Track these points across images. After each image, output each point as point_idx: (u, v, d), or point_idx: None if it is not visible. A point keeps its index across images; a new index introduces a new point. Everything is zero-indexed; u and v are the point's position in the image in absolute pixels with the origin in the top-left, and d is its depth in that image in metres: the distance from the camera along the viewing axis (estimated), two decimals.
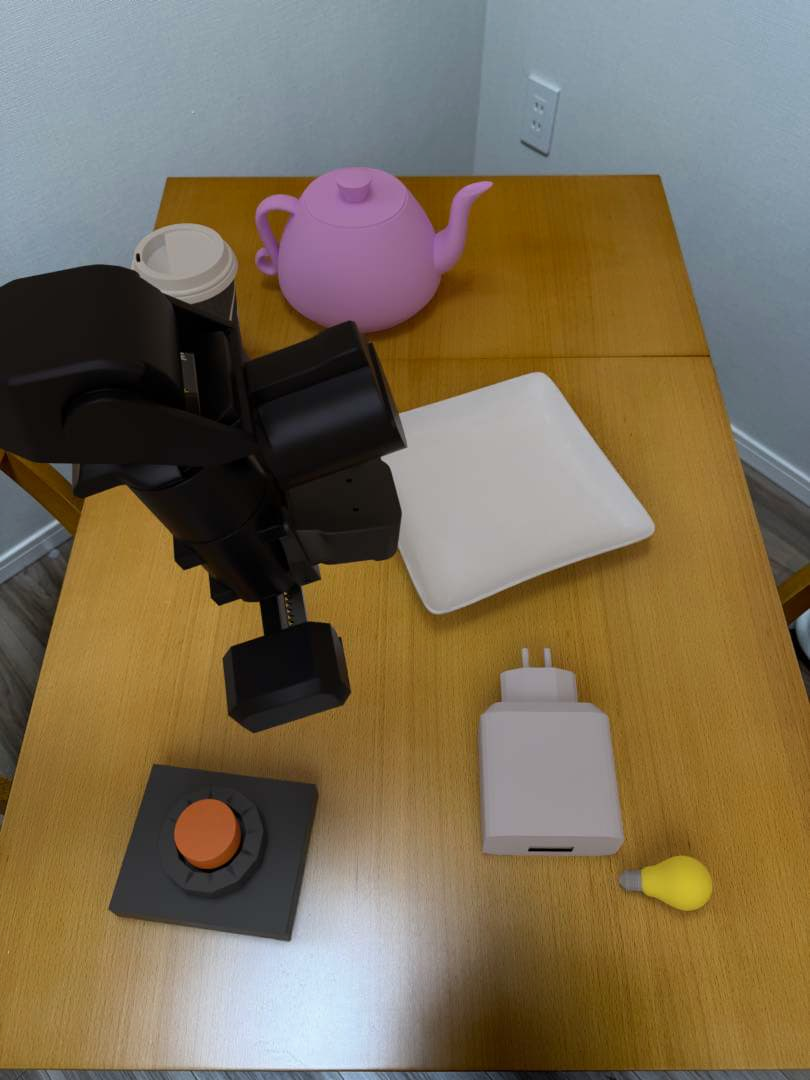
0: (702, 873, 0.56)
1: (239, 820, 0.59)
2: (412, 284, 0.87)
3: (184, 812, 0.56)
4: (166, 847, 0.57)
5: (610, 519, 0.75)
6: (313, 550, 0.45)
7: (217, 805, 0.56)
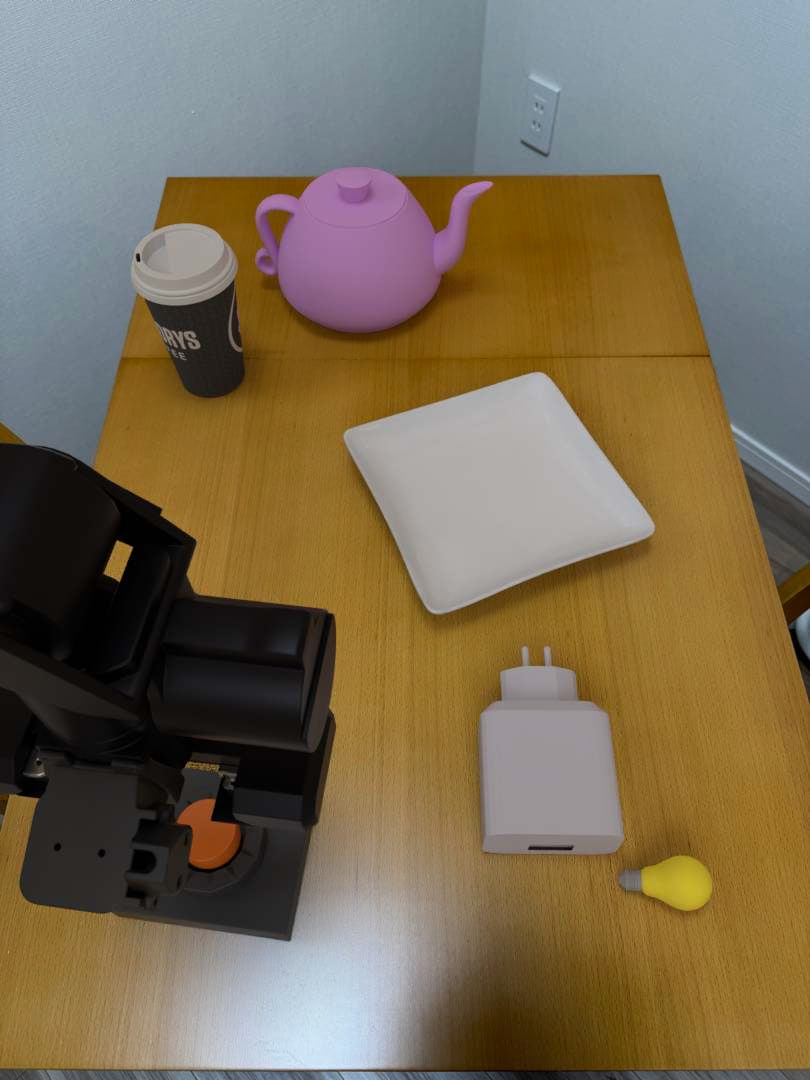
0: (702, 873, 0.56)
1: None
2: (413, 284, 0.87)
3: (184, 812, 0.56)
4: None
5: (610, 519, 0.75)
6: None
7: None
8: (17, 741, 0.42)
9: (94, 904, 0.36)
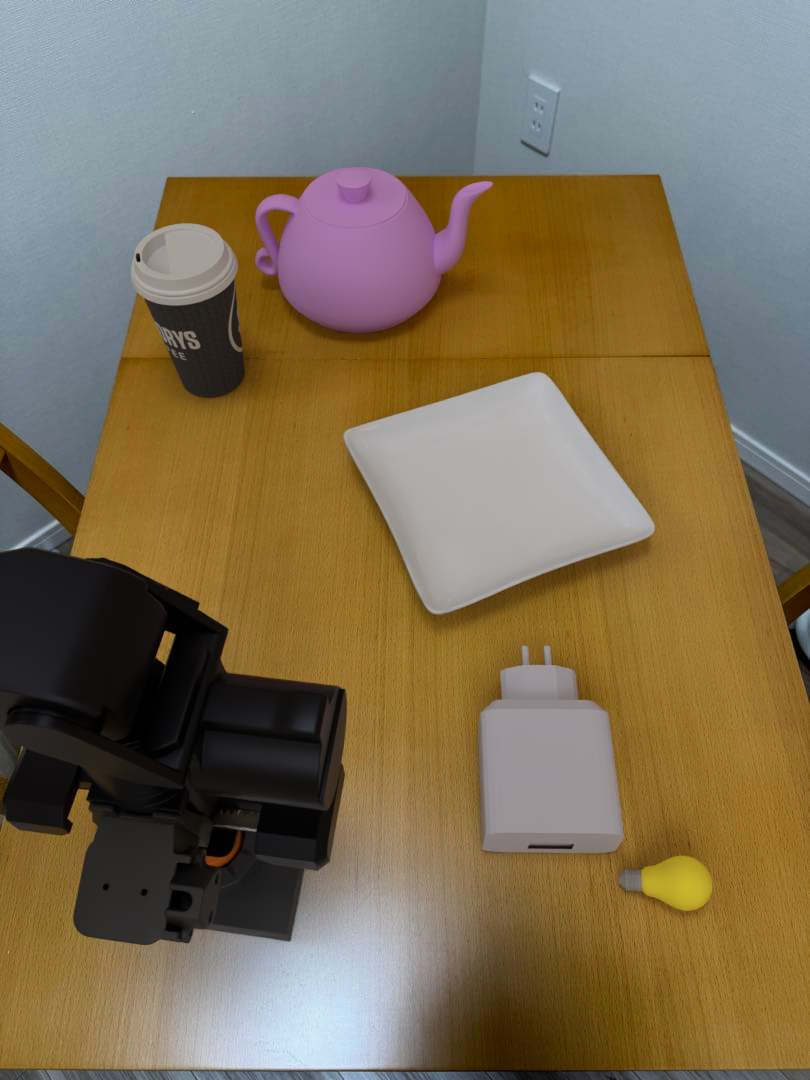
0: (702, 873, 0.56)
1: None
2: (413, 284, 0.87)
3: None
4: None
5: (610, 519, 0.75)
6: (96, 830, 0.45)
7: None
8: (66, 790, 0.48)
9: (138, 937, 0.42)
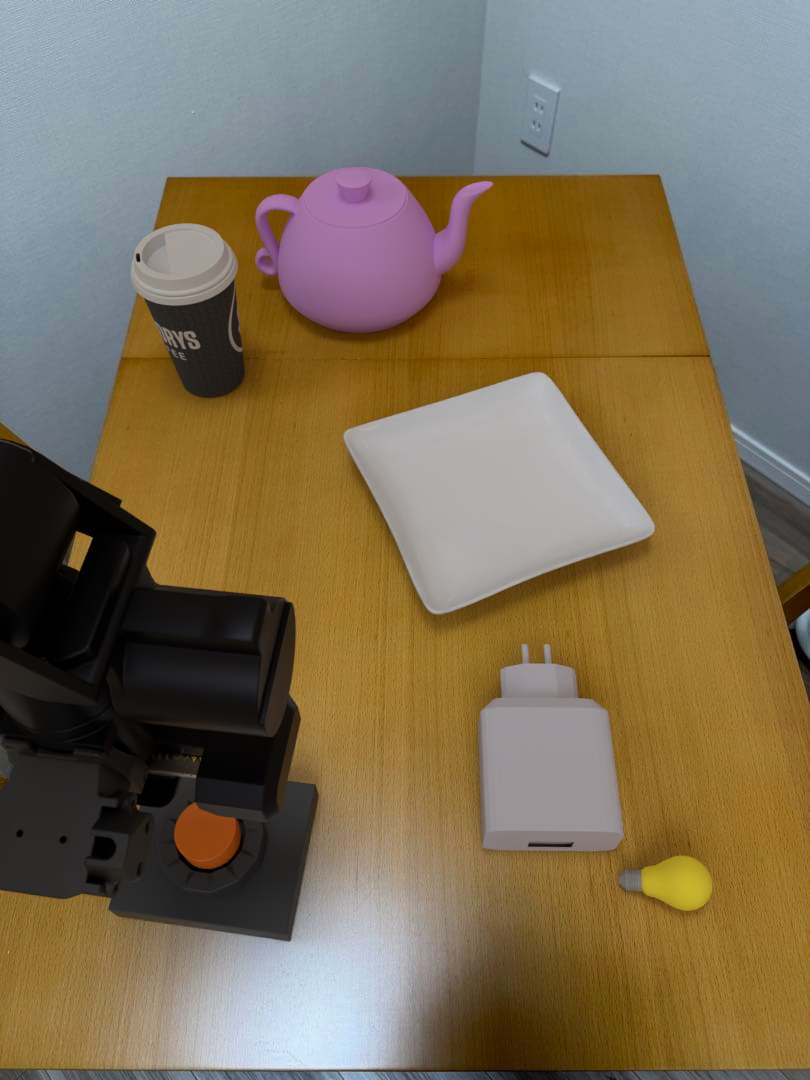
0: (702, 873, 0.56)
1: (239, 820, 0.59)
2: (413, 284, 0.87)
3: (184, 812, 0.56)
4: (166, 847, 0.57)
5: (610, 519, 0.75)
6: None
7: None
8: None
9: (55, 889, 0.37)
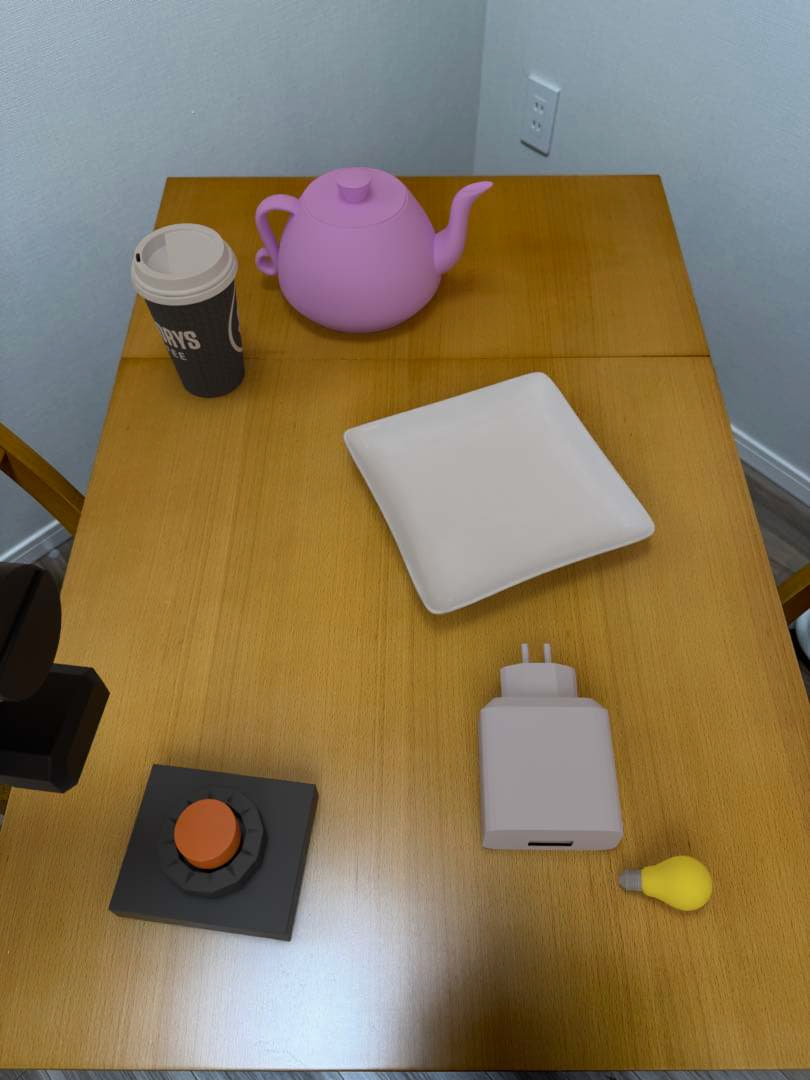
0: (702, 873, 0.56)
1: (239, 820, 0.59)
2: (413, 284, 0.87)
3: (184, 812, 0.56)
4: (166, 847, 0.57)
5: (610, 519, 0.75)
6: None
7: (217, 805, 0.56)
8: None
9: None
